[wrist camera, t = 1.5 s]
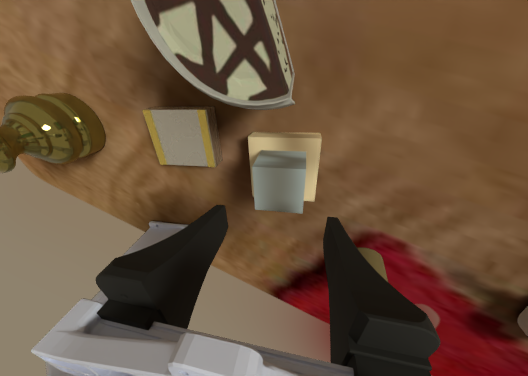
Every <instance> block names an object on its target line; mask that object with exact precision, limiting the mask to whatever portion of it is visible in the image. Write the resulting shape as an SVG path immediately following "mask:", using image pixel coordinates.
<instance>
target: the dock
mask: <svg viewBox="0 0 528 376" xmlns="http://www.w3.org/2000/svg"><path fill="white" fill-rule="evenodd" d="M142 111H143V114H144V117H145V120H146V123H147V126H148V129H149V132H150V135H151V138H152V141H153V144H154V147H155V150H156V153H157V156H158V159H159V162H160V165H167V164H168V165H188V166H208V167H216V166H217V165H218V164H219V163H220V162H221V161H222V153H221V147H220V140H219V134H218V127H217V121H216V114H215V108H214V106H198V107H152V108H148V109H144V110H142Z"/></svg>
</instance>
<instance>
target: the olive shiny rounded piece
mask: <svg viewBox="0 0 528 376" xmlns="http://www.w3.org/2000/svg"><path fill="white" fill-rule="evenodd" d="M104 143H105V133H104V129H103V126H102V124H101V122H100V120H99V119H98V117H97V116H96V114H95V113H94V112H93V111H92V110H91V108H90V107H89V106H87V105H86V104H85V103H84V102H83V101H81V100H80V99H78V98H76V97H75V96H72V95H70V94H67V93H53V94H38V95H36V96H35V97H34V96H16V97H13V98H11V99H10V100H8V102H7V103H6V105H5V108H4V117H3V120H2V125H1V126H0V173H6V172H10V171H12V170H13V169H14V167H15V165H16V158H17V156H18V155H19V154H27V155H30V156H33V157H36V158H40V159H42V160H44V161H46V162H49V163H53V164H59V165H63V164H69V163H71V162H73V161H75V160H76V159H77V158H83V157H86V156H88V155H90V154H92V153H95V152H97V151H99V150H101V149H102V147H103V146H104Z"/></svg>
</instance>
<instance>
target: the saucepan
mask: <svg viewBox="0 0 528 376" xmlns="http://www.w3.org/2000/svg"><path fill="white" fill-rule="evenodd" d="M517 323H518V325H519V327H520V328H521V329H522V330H523V331H524V333H525V334H526V335H527V336H528V306H527V307H526V308H525V310H523V311H522V312H521V313H520V315H519V317H518V320H517Z"/></svg>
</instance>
